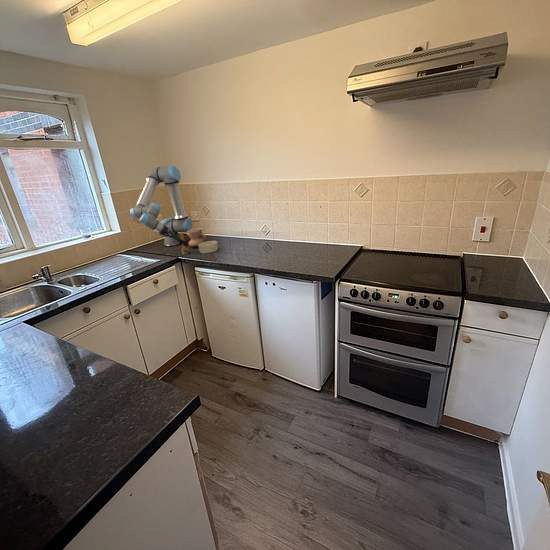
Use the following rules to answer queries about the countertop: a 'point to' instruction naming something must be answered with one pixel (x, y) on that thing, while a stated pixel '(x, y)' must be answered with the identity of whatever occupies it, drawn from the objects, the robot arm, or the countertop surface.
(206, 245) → the bowl
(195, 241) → the ceramic jug
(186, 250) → the brush
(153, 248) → the countertop surface
